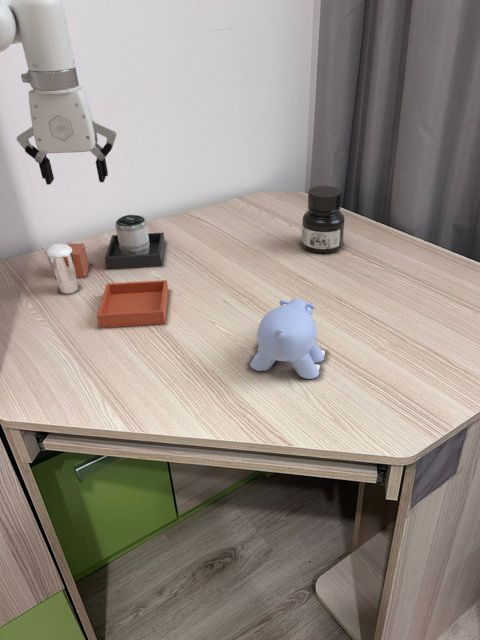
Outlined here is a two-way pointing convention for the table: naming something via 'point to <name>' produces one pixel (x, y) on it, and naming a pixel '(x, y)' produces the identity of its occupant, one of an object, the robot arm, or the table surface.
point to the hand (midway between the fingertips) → (76, 181)
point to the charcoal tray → (152, 259)
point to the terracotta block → (79, 259)
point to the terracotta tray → (133, 304)
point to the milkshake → (63, 267)
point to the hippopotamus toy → (289, 339)
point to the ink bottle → (323, 220)
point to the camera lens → (133, 235)
